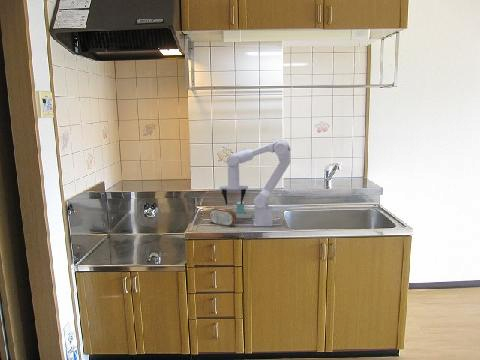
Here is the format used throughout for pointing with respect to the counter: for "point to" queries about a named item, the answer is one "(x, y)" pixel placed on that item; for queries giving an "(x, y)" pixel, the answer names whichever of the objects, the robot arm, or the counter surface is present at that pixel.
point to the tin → (222, 216)
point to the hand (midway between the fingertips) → (233, 204)
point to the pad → (243, 216)
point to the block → (240, 208)
